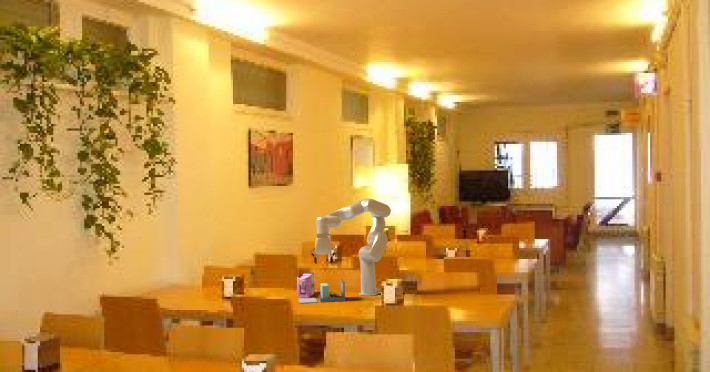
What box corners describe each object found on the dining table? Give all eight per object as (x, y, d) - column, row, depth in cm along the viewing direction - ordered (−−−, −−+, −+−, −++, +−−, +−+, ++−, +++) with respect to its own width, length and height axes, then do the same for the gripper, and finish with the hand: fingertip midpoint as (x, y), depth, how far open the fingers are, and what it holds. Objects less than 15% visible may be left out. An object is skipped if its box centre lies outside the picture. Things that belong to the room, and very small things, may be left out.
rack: (342, 297, 523) (341, 278, 523) (345, 301, 508) (344, 282, 508) (318, 298, 521) (317, 279, 521) (320, 302, 506) (319, 283, 506)
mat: (315, 298, 521) (315, 297, 521) (317, 302, 505) (317, 301, 505) (297, 299, 520) (297, 298, 520) (299, 303, 504) (299, 302, 504)
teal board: (327, 298, 520) (326, 283, 520) (329, 301, 508) (328, 285, 508) (320, 299, 520) (320, 283, 520) (322, 302, 508) (322, 286, 508)
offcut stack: (339, 298, 522) (339, 292, 521) (343, 301, 510) (343, 295, 510) (333, 298, 521) (333, 293, 521) (337, 301, 509) (337, 296, 509)
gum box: (308, 298, 524) (308, 277, 523) (296, 298, 525) (295, 277, 524) (314, 292, 547) (314, 272, 547) (303, 292, 548) (302, 272, 548)
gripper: (335, 235, 518) (336, 262, 518) (308, 236, 516) (309, 263, 516) (337, 236, 511) (337, 263, 511) (309, 237, 508) (310, 264, 509)
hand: (323, 263), depth 513 cm, fingers open, 9 cm apart
